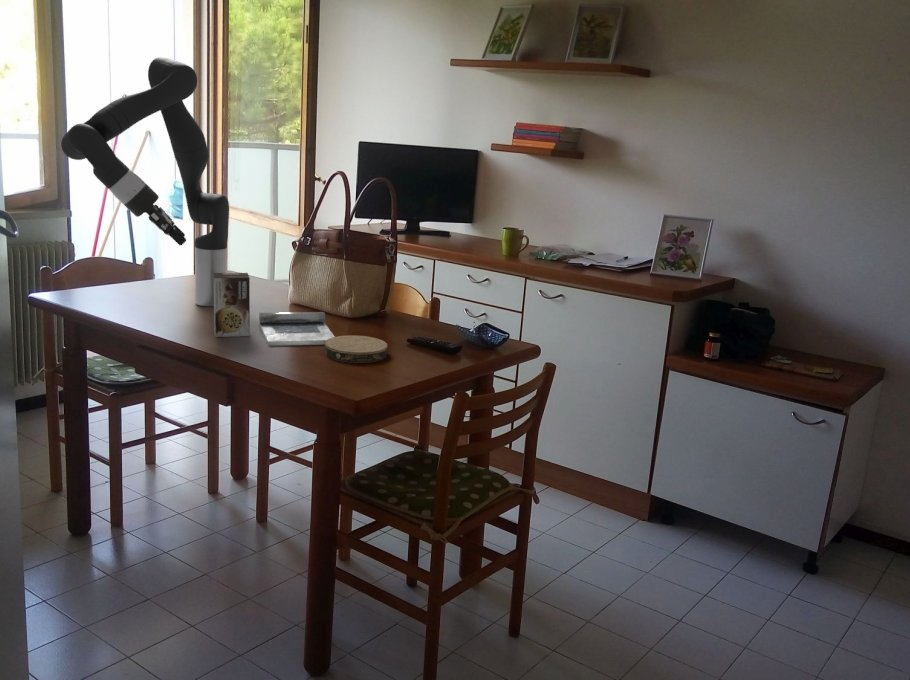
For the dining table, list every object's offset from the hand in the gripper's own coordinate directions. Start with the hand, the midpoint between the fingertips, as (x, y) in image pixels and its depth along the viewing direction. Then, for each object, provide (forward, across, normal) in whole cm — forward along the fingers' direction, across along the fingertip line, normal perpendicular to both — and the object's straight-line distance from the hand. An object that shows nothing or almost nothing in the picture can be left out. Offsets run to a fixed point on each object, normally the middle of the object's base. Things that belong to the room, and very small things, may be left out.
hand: (183, 240), depth 213 cm
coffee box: (+26, 0, +9) cm, 28 cm away
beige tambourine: (+47, -21, -11) cm, 53 cm away
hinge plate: (+38, -2, -3) cm, 38 cm away
